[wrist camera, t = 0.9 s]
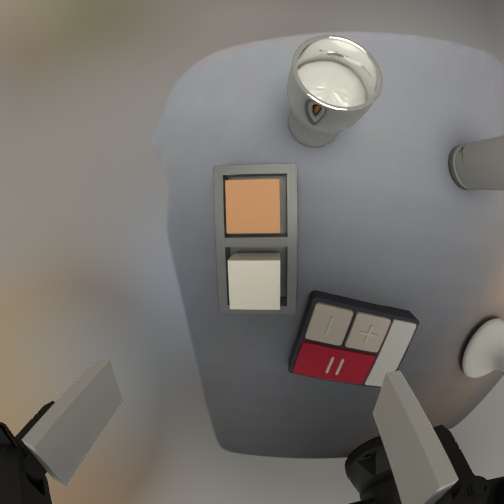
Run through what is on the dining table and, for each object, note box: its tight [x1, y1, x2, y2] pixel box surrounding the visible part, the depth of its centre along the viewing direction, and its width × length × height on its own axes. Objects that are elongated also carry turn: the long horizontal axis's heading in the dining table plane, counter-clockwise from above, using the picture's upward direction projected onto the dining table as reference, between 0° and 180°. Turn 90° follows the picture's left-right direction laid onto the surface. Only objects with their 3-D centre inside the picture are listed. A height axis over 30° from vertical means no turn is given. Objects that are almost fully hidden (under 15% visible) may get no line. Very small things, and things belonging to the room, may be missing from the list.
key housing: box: [213, 164, 297, 314], centre depth 31 cm, size 16×9×4 cm, turn 1°
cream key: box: [228, 253, 280, 310], centre depth 29 cm, size 5×5×4 cm
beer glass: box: [287, 35, 382, 147], centre depth 22 cm, size 7×7×15 cm
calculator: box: [288, 291, 419, 388], centre depth 33 cm, size 11×4×15 cm
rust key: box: [225, 179, 280, 234], centre depth 27 cm, size 5×5×4 cm
